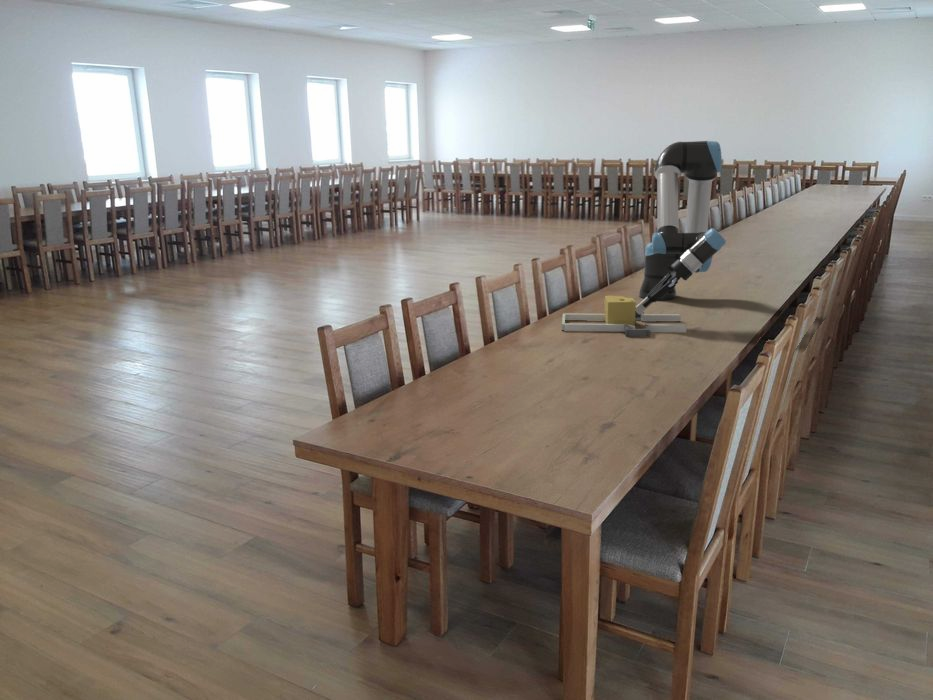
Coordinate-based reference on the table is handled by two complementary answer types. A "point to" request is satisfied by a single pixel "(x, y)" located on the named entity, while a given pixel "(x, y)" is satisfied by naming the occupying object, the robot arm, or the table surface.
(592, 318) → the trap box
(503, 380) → the table surface
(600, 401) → the table surface
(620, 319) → the cheese
